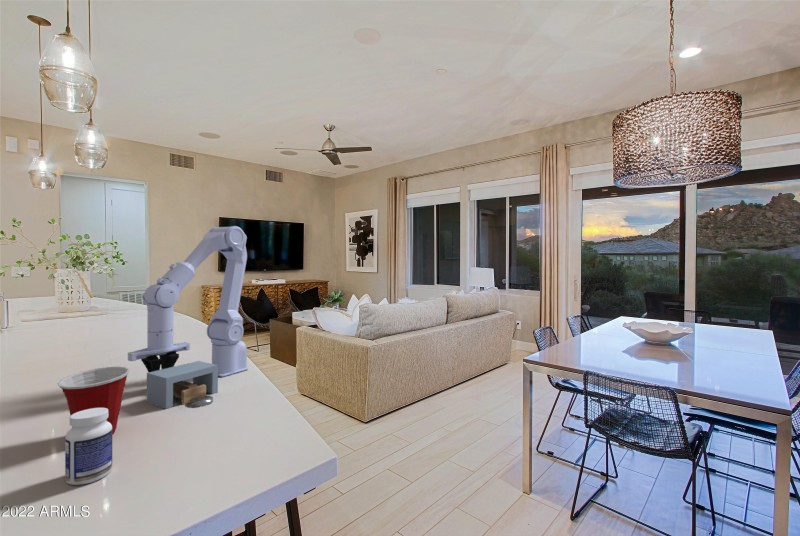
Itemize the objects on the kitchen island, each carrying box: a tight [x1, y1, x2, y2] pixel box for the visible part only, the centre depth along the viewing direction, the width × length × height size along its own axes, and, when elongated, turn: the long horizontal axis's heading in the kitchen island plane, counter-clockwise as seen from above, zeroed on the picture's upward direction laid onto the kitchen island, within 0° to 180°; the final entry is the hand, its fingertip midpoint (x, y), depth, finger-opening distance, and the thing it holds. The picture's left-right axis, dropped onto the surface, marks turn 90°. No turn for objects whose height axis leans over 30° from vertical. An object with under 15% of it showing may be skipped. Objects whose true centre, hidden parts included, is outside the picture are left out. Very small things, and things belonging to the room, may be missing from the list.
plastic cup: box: [57, 365, 130, 436], centre depth 73 cm, size 11×11×12 cm
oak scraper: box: [173, 380, 207, 405], centre depth 96 cm, size 6×18×4 cm, turn 61°
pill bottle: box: [64, 408, 113, 486], centre depth 59 cm, size 6×6×10 cm
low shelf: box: [146, 360, 219, 410], centre depth 94 cm, size 13×8×7 cm, turn 151°
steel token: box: [188, 395, 214, 408], centre depth 91 cm, size 5×5×1 cm
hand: (160, 382), depth 99 cm, fingers closed on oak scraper, 2 cm apart
